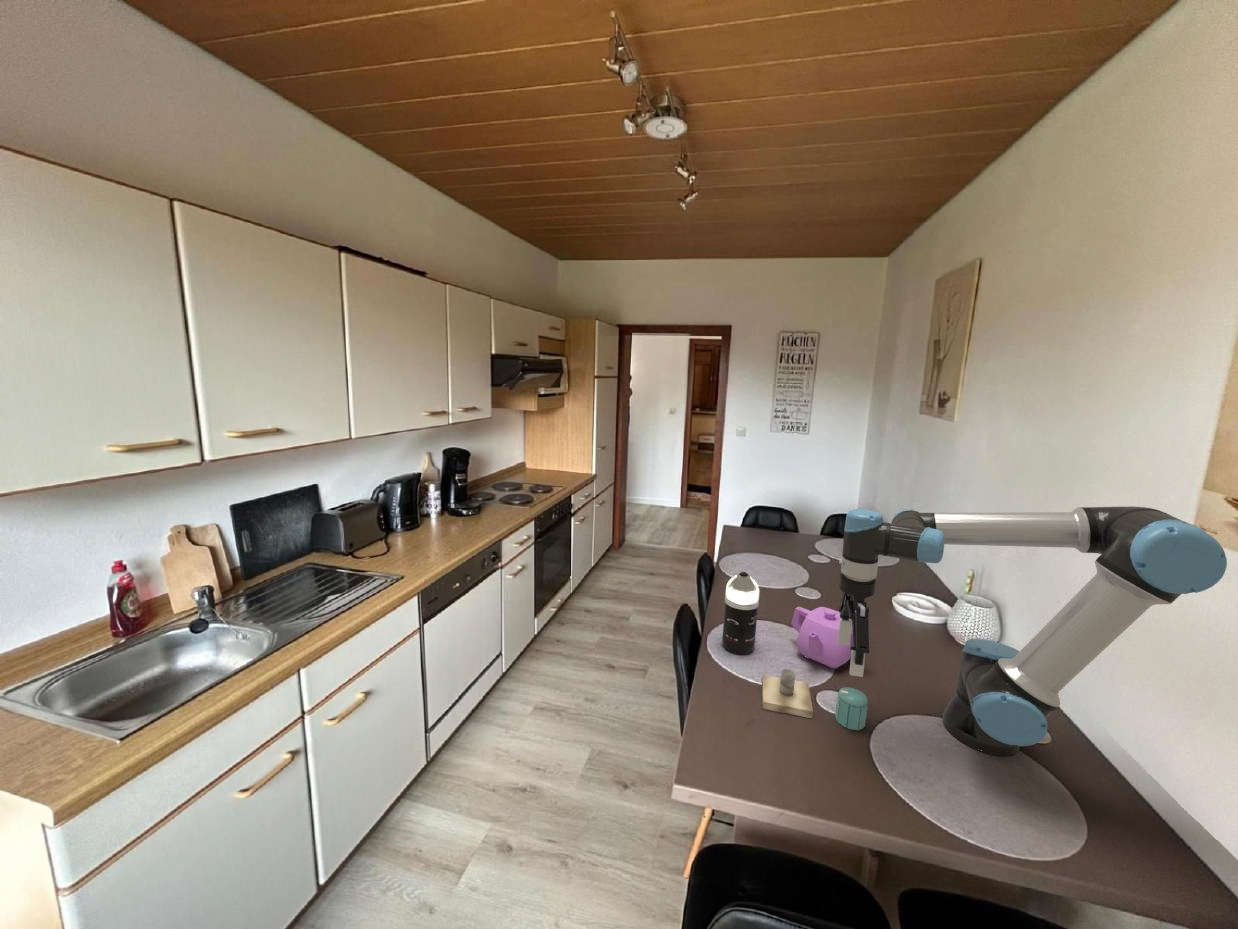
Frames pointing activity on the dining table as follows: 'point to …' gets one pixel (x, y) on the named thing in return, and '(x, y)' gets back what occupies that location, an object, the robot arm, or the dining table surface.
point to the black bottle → (740, 614)
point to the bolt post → (786, 695)
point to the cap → (851, 708)
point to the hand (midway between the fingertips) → (849, 659)
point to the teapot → (821, 636)
